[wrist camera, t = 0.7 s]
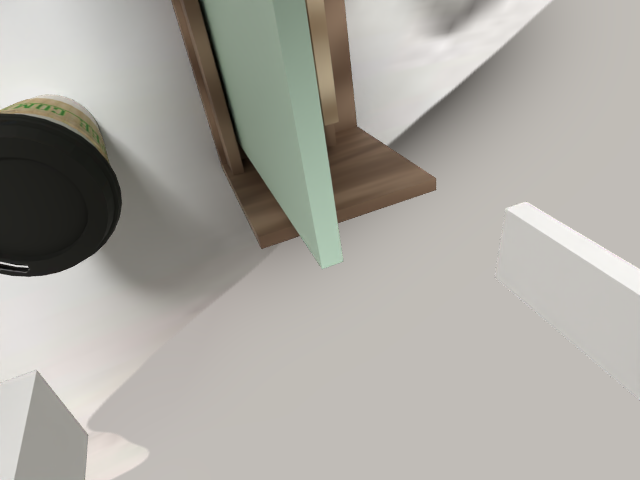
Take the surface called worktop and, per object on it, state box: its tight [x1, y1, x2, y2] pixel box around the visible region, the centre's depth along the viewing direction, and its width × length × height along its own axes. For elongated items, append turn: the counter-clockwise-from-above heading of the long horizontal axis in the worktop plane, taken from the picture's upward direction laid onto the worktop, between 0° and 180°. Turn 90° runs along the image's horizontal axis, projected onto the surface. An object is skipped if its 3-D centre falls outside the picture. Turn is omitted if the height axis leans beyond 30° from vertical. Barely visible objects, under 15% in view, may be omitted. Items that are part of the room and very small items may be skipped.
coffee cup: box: [0, 95, 122, 277], centre depth 29 cm, size 10×10×15 cm
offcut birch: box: [305, 0, 339, 126], centre depth 33 cm, size 14×1×8 cm, turn 9°
